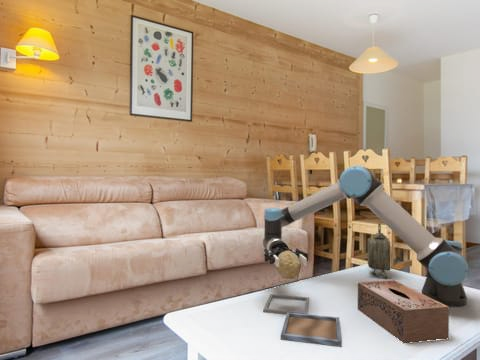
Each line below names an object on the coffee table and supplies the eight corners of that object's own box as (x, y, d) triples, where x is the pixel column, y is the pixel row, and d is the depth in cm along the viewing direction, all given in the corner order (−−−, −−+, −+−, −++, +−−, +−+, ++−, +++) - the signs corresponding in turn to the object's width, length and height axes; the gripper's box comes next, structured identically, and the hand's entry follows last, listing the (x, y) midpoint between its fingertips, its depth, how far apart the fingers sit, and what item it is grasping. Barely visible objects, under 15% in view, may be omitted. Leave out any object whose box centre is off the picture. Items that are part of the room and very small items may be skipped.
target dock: (339, 321, 114) (339, 317, 114) (341, 346, 97) (341, 341, 97) (287, 316, 118) (287, 312, 118) (280, 339, 102) (280, 334, 101)
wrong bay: (309, 300, 133) (309, 297, 133) (306, 316, 118) (306, 313, 118) (270, 296, 137) (270, 294, 137) (263, 312, 122) (263, 309, 122)
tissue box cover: (357, 310, 124) (357, 282, 124) (393, 307, 127) (394, 280, 127) (404, 344, 99) (404, 310, 99) (448, 340, 102) (448, 306, 102)
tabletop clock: (390, 280, 159) (391, 225, 158) (369, 278, 161) (369, 225, 161) (386, 272, 172) (387, 221, 172) (367, 270, 175) (367, 221, 175)
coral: (303, 255, 130) (302, 249, 121) (300, 282, 126) (298, 279, 117) (278, 251, 132) (275, 245, 123) (274, 278, 129) (270, 274, 120)
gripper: (303, 257, 143) (322, 272, 121) (251, 258, 141) (260, 274, 119) (303, 239, 143) (322, 251, 121) (251, 240, 141) (260, 252, 119)
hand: (291, 262), depth 120 cm, fingers closed on coral, 9 cm apart
